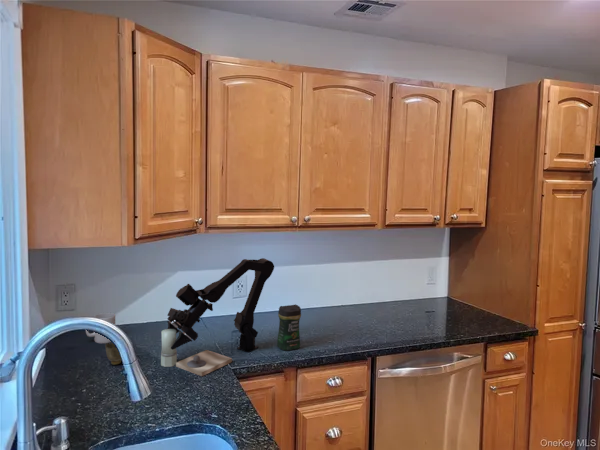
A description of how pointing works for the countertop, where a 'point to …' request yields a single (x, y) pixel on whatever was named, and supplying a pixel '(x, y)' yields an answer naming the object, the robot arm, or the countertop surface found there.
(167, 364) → the light bulb
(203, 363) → the mounting board
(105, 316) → the mug
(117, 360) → the cup
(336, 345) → the countertop surface
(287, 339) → the coffee jar
